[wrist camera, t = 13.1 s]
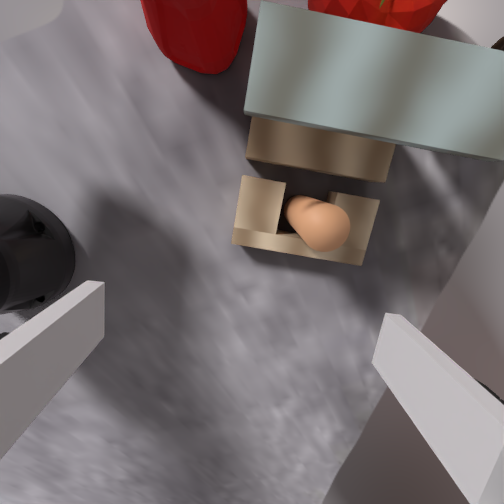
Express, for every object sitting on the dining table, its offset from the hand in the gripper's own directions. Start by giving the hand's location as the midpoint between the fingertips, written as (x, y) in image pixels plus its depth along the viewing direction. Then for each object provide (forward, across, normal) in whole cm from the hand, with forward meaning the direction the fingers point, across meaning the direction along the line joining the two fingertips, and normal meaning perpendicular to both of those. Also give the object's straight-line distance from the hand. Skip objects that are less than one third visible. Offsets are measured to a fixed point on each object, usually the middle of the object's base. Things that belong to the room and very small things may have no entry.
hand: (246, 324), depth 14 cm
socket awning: (+25, +7, +7) cm, 27 cm away
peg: (+25, +7, +3) cm, 26 cm away
